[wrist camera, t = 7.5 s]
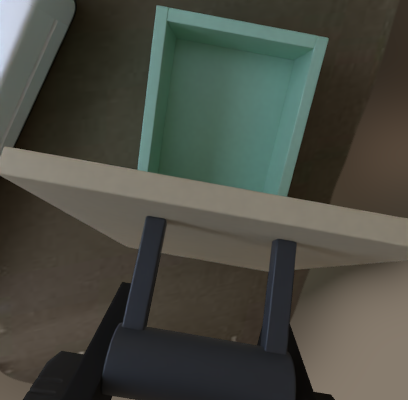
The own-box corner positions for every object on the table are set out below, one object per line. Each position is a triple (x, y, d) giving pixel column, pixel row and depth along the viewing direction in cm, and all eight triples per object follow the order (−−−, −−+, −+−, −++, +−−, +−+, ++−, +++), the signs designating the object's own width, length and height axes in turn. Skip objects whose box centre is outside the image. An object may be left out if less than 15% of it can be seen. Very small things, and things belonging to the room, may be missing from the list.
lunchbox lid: (3, 145, 8) (-91, 406, 7) (462, 227, 9) (474, 498, 7) (128, 237, 28) (111, 312, 26) (270, 262, 28) (262, 337, 26)
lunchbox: (169, 28, 29) (156, 4, 23) (303, 53, 29) (329, 37, 23) (145, 214, 35) (129, 240, 28) (258, 234, 35) (269, 264, 28)
